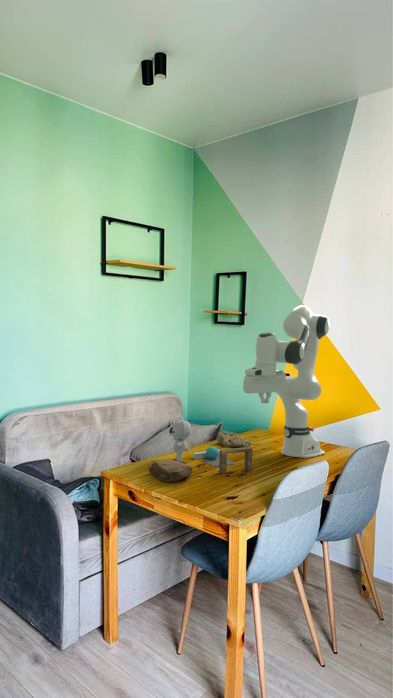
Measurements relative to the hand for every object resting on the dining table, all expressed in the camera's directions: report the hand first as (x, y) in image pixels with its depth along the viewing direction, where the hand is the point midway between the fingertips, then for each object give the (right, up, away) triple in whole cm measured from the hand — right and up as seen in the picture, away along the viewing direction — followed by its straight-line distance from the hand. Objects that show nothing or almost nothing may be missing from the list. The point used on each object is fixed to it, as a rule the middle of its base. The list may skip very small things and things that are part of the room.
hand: (264, 403), depth 201 cm
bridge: (-12, -31, +6) cm, 33 cm away
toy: (-37, -30, +21) cm, 52 cm away
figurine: (-9, -30, +53) cm, 61 cm away
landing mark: (-19, -30, +20) cm, 41 cm away
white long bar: (-23, -30, +29) cm, 47 cm away
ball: (-22, -27, +25) cm, 43 cm away
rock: (-40, -31, -4) cm, 51 cm away
